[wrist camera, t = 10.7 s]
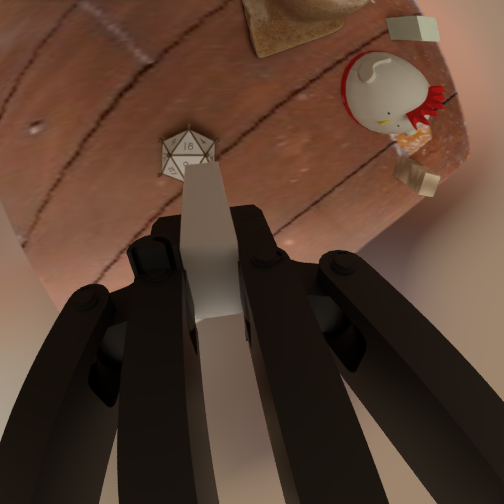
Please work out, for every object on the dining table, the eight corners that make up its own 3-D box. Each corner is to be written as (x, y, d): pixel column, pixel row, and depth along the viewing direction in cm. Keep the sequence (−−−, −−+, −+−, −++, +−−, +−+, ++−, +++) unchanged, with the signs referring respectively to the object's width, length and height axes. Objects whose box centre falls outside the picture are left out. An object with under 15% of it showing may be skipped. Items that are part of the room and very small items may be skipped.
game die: (197, 133, 42) (239, 125, 35) (195, 186, 44) (237, 189, 37) (144, 129, 36) (178, 116, 29) (142, 188, 38) (176, 191, 31)
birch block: (399, 155, 46) (425, 172, 40) (413, 159, 47) (440, 176, 41) (393, 175, 48) (418, 194, 42) (407, 178, 49) (433, 197, 43)
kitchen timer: (323, 89, 38) (378, 104, 26) (375, 35, 33) (440, 36, 21) (376, 145, 44) (432, 180, 33) (420, 95, 39) (482, 117, 27)
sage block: (385, 18, 31) (416, 15, 24) (403, 18, 30) (435, 17, 24) (390, 39, 33) (422, 40, 27) (408, 39, 33) (440, 41, 26)
